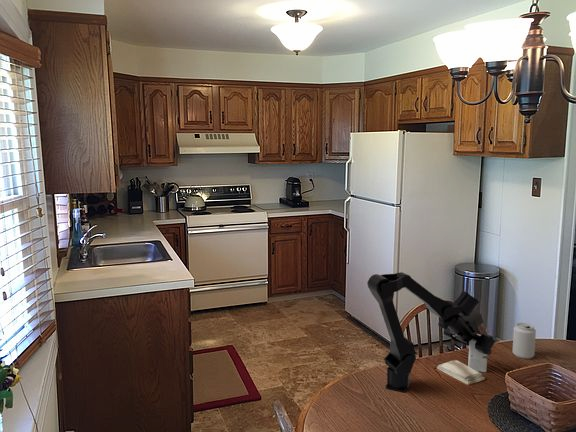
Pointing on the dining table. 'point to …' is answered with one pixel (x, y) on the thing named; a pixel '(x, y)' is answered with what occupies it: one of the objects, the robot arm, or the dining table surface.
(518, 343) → the can
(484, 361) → the skincare box
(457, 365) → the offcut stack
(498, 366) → the dining table surface
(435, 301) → the robot arm
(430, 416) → the dining table surface
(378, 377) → the dining table surface
